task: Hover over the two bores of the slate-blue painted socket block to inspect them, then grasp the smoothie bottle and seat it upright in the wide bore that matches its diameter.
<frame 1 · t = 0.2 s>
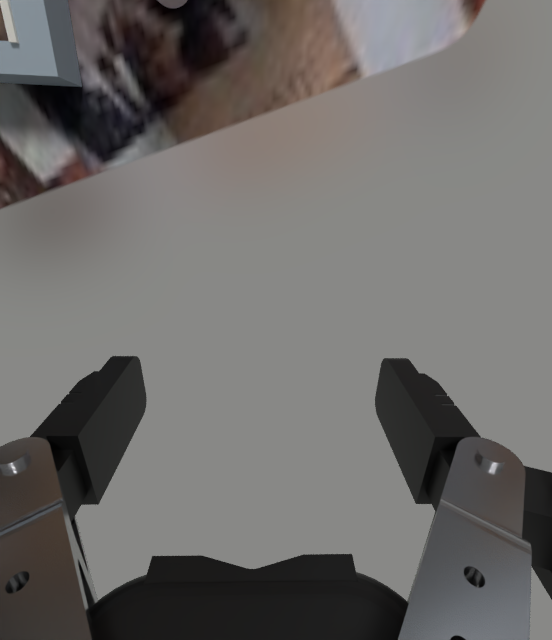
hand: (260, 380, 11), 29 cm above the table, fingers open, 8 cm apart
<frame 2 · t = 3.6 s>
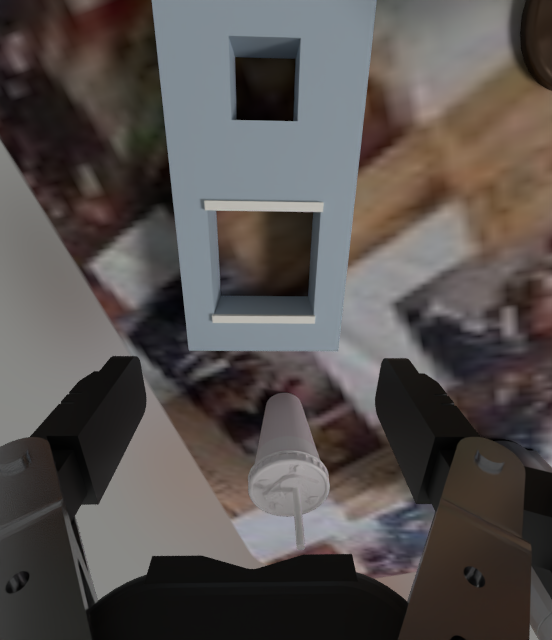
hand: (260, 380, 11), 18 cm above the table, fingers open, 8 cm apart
socket block: (264, 187, 25), on the table
smoothie: (283, 406, 34), on the table
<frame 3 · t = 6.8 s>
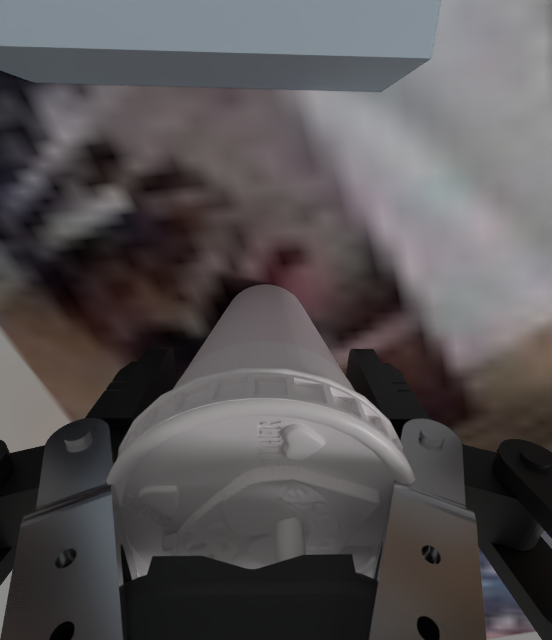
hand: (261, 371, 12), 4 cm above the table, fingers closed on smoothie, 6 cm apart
smoothie: (265, 320, 16), on the table, touching gripper
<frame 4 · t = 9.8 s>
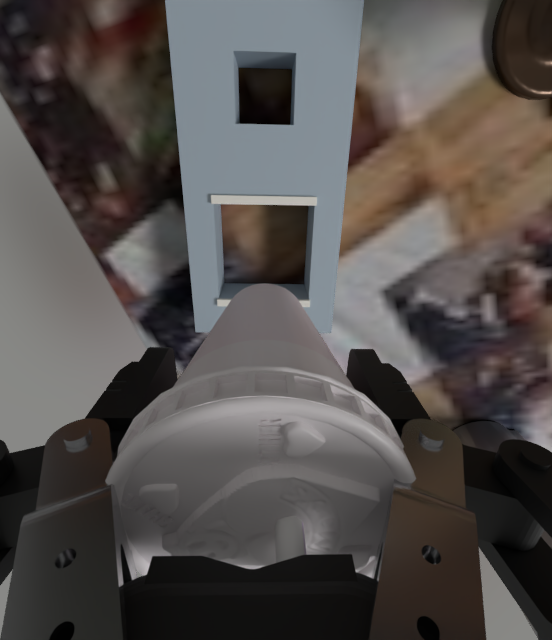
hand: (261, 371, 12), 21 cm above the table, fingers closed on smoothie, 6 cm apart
socket block: (264, 184, 28), on the table
smoothie: (264, 319, 16), point 16 cm above the table, touching gripper
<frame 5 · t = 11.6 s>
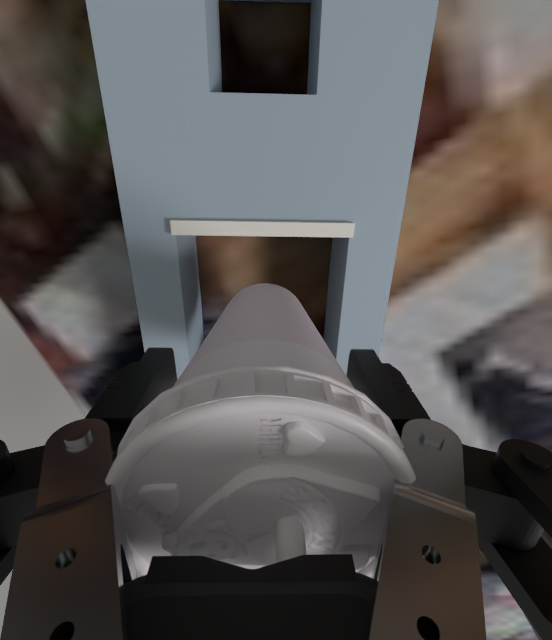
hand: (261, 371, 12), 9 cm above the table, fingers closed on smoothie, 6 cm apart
socket block: (264, 198, 18), on the table
smoothie: (264, 319, 16), point 5 cm above the table, touching gripper
when the fingers open (6 cm above the table, at t = 12.9 s): smoothie drops 2 cm, resting in socket block.
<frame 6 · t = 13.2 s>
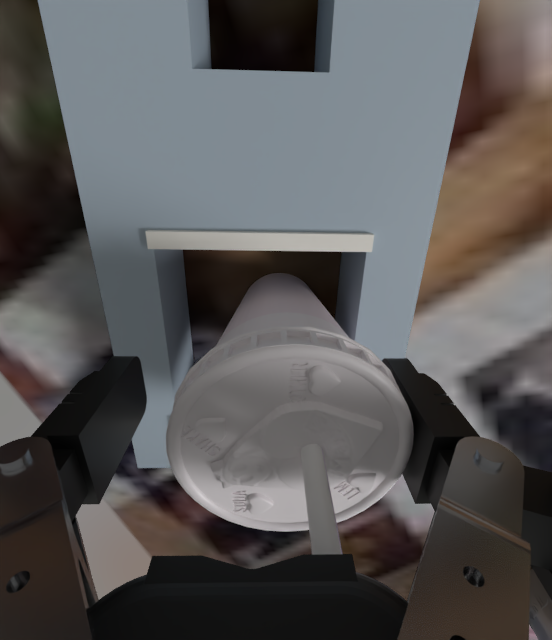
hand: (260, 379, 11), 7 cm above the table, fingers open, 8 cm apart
socket block: (262, 202, 15), on the table
smoothie: (278, 305, 17), resting in socket block, touching gripper
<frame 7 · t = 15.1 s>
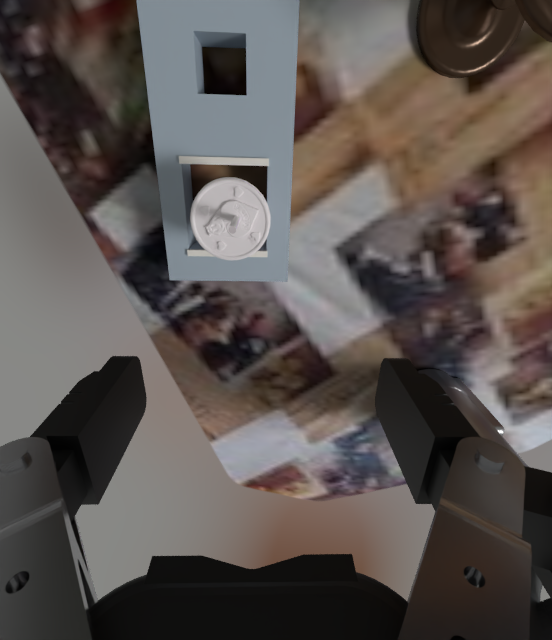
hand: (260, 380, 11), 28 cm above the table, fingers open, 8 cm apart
socket block: (228, 150, 33), on the table
smoothie: (238, 205, 35), resting in socket block
candlestick: (467, 15, 29), on the table
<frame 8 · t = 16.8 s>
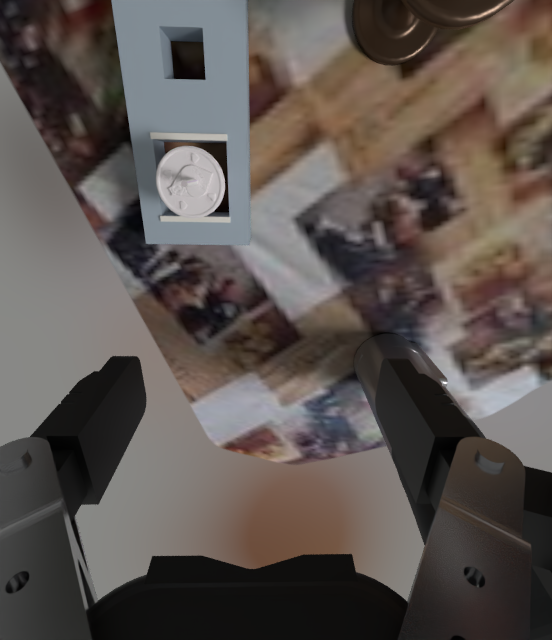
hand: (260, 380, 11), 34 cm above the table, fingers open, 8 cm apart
socket block: (196, 130, 38), on the table
smoothie: (207, 179, 40), resting in socket block
candlestick: (396, 11, 34), on the table
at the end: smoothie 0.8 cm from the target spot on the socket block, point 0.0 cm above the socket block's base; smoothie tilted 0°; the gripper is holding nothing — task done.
